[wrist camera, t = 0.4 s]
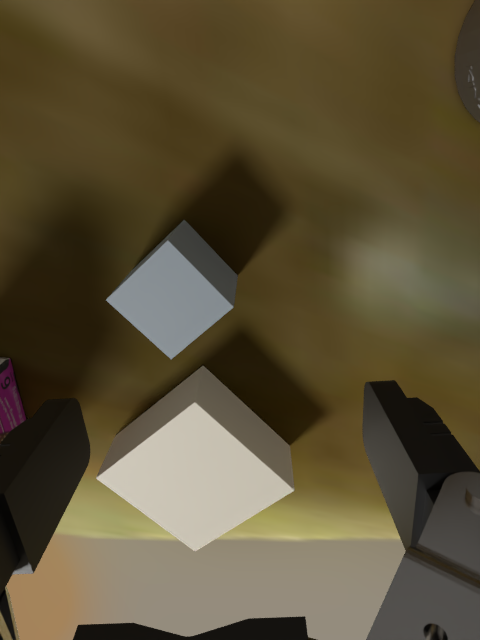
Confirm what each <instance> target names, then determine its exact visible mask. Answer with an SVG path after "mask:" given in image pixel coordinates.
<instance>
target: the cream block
mask: <svg viewBox="0 0 480 640" xmlns="http://www.w3.org/2000/svg"><path fill="white" fill-rule="evenodd" d="M96 479H98V480H99V481H100V482H102V483H103V484H104V485H106V486H107V487H108V488H110V489H111V490H113V491H114V492H115V493H117V494H118V495H119V496H121V497H122V498H123V499H125V500H126V501H127V502H129V503H130V504H131V505H133V506H134V507H136V508H137V509H138V510H140V511H141V512H142V513H144V514H145V515H146V516H148V517H149V518H150V519H152V520H153V521H154V522H156V523H157V524H159V525H160V526H161V527H163V528H164V529H165V530H167V531H168V532H169V533H171V534H172V535H173V536H175V537H176V538H177V539H179V540H180V541H181V542H183V543H184V544H186V545H187V546H188V547H190V548H191V549H192V550H194V551H197V550H198V549H200V548H201V547H203V546H204V545H206V544H208V543H210V542H211V541H213V540H214V539H216V538H218V537H219V536H221V535H223V534H224V533H226V532H227V531H229V530H231V529H232V528H234V527H236V526H237V525H239V524H241V523H242V522H244V521H245V520H247V519H249V518H250V517H252V516H254V515H255V514H257V513H258V512H260V511H262V510H263V509H265V508H267V507H268V506H270V505H272V504H273V503H275V502H276V501H278V500H280V499H281V498H283V497H285V496H286V495H288V494H289V493H291V492H293V491H294V480H293V471H292V461H291V452H290V446H289V445H288V444H287V443H286V442H285V441H284V440H283V439H282V438H281V437H280V436H279V435H278V434H276V433H275V432H274V431H273V430H272V429H271V428H270V427H269V426H268V425H267V424H266V423H265V422H264V421H262V420H261V419H260V418H259V417H258V416H257V415H256V414H255V413H254V412H253V411H252V410H251V409H250V408H248V407H247V406H246V405H245V404H244V403H243V402H242V401H241V400H240V399H239V398H238V397H237V396H236V395H234V394H233V393H232V392H231V391H230V390H229V389H228V388H227V387H226V386H225V385H224V384H223V383H222V382H220V381H219V380H218V379H217V378H216V377H215V376H214V375H213V374H212V373H211V372H210V371H209V370H208V369H206V368H205V367H204V366H202V367H201V368H199V369H198V370H197V371H196V372H194V373H193V374H192V375H191V376H189V377H188V378H187V379H186V380H184V381H183V382H182V383H181V384H179V385H178V386H177V387H176V388H174V389H173V390H172V391H171V392H169V393H168V394H167V395H166V396H164V397H163V398H162V399H161V400H159V401H158V402H157V403H156V404H154V405H153V406H152V407H151V408H149V409H148V410H147V411H146V412H144V413H143V414H142V415H141V416H139V417H138V418H137V419H136V420H134V421H133V422H132V423H131V424H129V425H128V426H127V427H126V428H124V429H123V430H122V431H121V432H119V433H118V434H117V435H116V436H115V438H114V440H113V442H112V444H111V446H110V449H109V451H108V453H107V455H106V457H105V460H104V462H103V464H102V466H101V468H100V470H99V473H98V475H97V477H96Z"/></svg>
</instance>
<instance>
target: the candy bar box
mask: <svg viewBox="0 0 480 640" xmlns="http://www.w3.org/2000/svg"><path fill="white" fill-rule="evenodd" d="M25 420H26V417H25V413H24V409H23V405H22V402H21V398H20V394H19V390H18V387H17V383H16V379H15V374H14V371H13V367H12V363H11V359H10V358H4V357H0V443H1V441H2V440H3V439H4V438H5V437H6V435H7V434H8V433H9V432H10V431H11V430H12V429H14V428H15V427H17V426H18V425H19V424H21V423H22V422H24V421H25Z"/></svg>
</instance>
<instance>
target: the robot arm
mask: <svg viewBox="0 0 480 640" xmlns="http://www.w3.org/2000/svg"><path fill="white" fill-rule="evenodd" d="M455 79H456V83H457V88H458V93H459V95H460V97H461V99H462V101H463V104H464V106H465V108H466V109H467V110H468V111H469V112H470V114H471V115H472V116H473V117H474V118H475V119H476V120H477V121H478V122H480V0H475V1H474V3H473V5H472V7H471V9H470V10H469V12H468V14H467V16H466V18H465V20H464V23H463V26H462V29H461V31H460V34H459V37H458V42H457V48H456V53H455ZM363 441H364V446H365V450H366V453H367V456H368V458H369V461H370V463H371V466H372V468H373V471H374V473H375V476H376V478H377V481H378V483H379V486H380V488H381V491H382V493H383V496H384V498H385V501H386V503H387V506H388V508H389V510H390V513H391V515H392V518H393V520H394V523H395V525H396V528H397V530H398V533H399V535H400V538H401V540H402V543H403V545H404V548H405V550H406V552H405V554H404V556H403V558H402V561H401V563H400V565H399V567H398V570H397V572H396V574H395V576H394V579H393V581H392V583H391V585H390V588H389V590H388V592H387V594H386V596H385V599H384V601H383V603H382V605H381V608H380V610H379V612H378V615H377V616H376V619H375V621H374V623H373V626H372V628H371V630H370V632H369V634H368V637H367V639H366V640H480V471H479V470H478V468H477V467H476V466H475V464H474V463H473V462H472V460H471V459H470V458H469V456H468V455H467V453H466V452H465V451H464V449H463V448H462V447H461V445H460V444H459V443H458V441H457V440H456V439H455V437H454V436H453V435H451V432H450V430H449V429H448V428H447V426H446V425H445V424H443V421H442V419H441V418H440V417H439V415H438V414H437V413H436V411H435V410H434V409H433V408H432V407H431V406H429V405H428V404H426V403H425V402H423V401H422V400H420V399H419V398H407V397H406V396H405V394H404V393H403V391H402V390H401V388H400V387H399V385H398V384H397V382H396V381H394V380H392V381H374V382H366V384H365V388H364V408H363ZM89 459H90V443H89V439H88V435H87V431H86V427H85V423H84V419H83V415H82V411H81V407H80V404H79V402H78V400H77V399H75V398H69V399H52V400H47V401H45V402H44V403H43V405H42V406H41V407H40V408H39V410H38V411H37V412H36V413H35V414H34V416H33V417H32V418H31V419H26V420H25V421H24V422H22V423H21V424H19V425H18V426H17V427H15V428H14V429H12V430H11V431H10V432H9V433H8V434H7V435H6V437H5V438H4V439H3V440H2V441H1V443H0V640H20V639H19V635H18V630H17V626H16V622H15V617H14V613H13V608H12V604H11V600H10V595H9V592H8V590H7V587H6V585H7V583H8V581H9V579H10V577H11V576H12V574H32V573H34V571H35V569H36V567H37V565H38V563H39V561H40V559H41V557H42V555H43V553H44V551H45V550H46V548H47V545H48V543H49V542H50V540H51V538H52V536H53V534H54V532H55V530H56V528H57V526H58V524H59V522H60V520H61V518H62V516H63V514H64V512H65V510H66V508H67V506H68V504H69V502H70V500H71V498H72V496H73V494H74V492H75V490H76V488H77V486H78V484H79V482H80V480H81V478H82V476H83V474H84V472H85V470H86V468H87V466H88V463H89ZM73 640H316V639H313V638H309V637H308V635H307V628H306V620H305V617H281V618H254V619H246V620H243V621H240V622H236V623H233V624H231V625H227V626H224V627H221V628H217V629H214V630H211V631H208V632H205V633H202V634H198V635H195V636H191V637H185V636H180V635H177V634H173V633H169V632H165V631H162V630H158V629H154V628H150V627H146V626H143V625H139V624H135V623H120V624H91V625H78V627H77V630H76V632H75V636H74V638H73Z"/></svg>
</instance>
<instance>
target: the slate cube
mask: <svg viewBox="0 0 480 640" xmlns="http://www.w3.org/2000/svg"><path fill="white" fill-rule="evenodd" d="M237 277H238V275H237V274H236V273H235V272H234V271H233V270H232V269H231V268H230V267H229V266H228V265H227V264H226V263H225V262H224V261H223V260H222V259H221V258H220V257H219V255H218V254H217V253H216V252H215V251H214V250H213V249H212V248H211V247H210V246H209V245H208V244H207V243H206V242H205V241H204V240H203V239H202V238H201V237H200V235H199V234H198V233H197V232H196V231H195V230H194V229H193V228H192V227H191V226H190V225H189V224H188V223H187V222H186V221H185V220H183V221H182V222H181V223H180V224H179V225H178V226H177V227H176V228H175V229H174V230H173V231H172V232H171V233H170V234H169V235H168V236H167V237H166V238H165V239H164V240H163V241H162V242H161V243H159V244H158V245H157V246H156V247H155V248H154V249H153V250H152V251H151V252H150V253H149V254H148V255H147V256H146V257H145V258H144V259H143V260H142V261H141V262H140V263H139V264H138V265H137V266H136V267H135V268H134V269H133V270H132V271H131V272H130V273H129V274H128V275H127V276H126V278H125V279H124V280H123V281H122V282H121V283H120V284H119V286H118V287H117V288H116V289H115V290H114V291H113V292H112V294H111V295H110V296H109V297H108V298H107V299H106V301H107V302H108V303H110V304H111V305H112V306H113V307H114V308H115V309H116V310H117V311H118V312H120V313H121V314H122V315H123V316H124V317H125V318H126V319H127V320H128V321H129V322H131V323H132V324H133V325H134V326H135V327H136V328H137V329H138V330H139V331H140V332H142V333H143V334H144V335H145V336H146V337H147V338H148V339H149V340H150V341H152V342H153V343H154V344H155V345H156V346H157V347H158V348H159V349H160V350H161V351H163V352H164V353H165V354H166V355H167V356H168V357H169V358H170V359H172V358H173V357H175V356H176V355H177V354H178V353H179V352H181V351H182V350H183V349H184V348H185V347H187V346H188V345H189V344H190V343H191V342H193V341H194V340H195V339H196V338H197V337H198V336H200V335H201V334H202V333H203V332H204V331H206V330H207V329H208V328H209V327H210V326H212V325H213V324H214V323H215V322H216V321H218V320H219V319H220V318H221V317H222V316H224V315H225V314H226V313H227V312H228V311H230V310H231V309H232V308H233V307H234V301H235V293H236V285H237Z"/></svg>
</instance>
